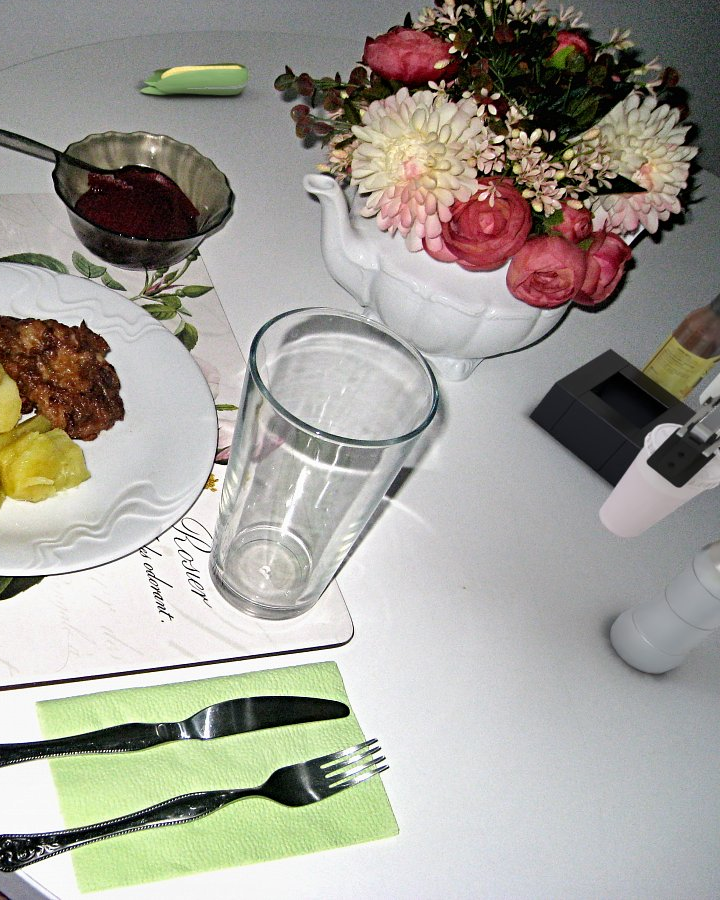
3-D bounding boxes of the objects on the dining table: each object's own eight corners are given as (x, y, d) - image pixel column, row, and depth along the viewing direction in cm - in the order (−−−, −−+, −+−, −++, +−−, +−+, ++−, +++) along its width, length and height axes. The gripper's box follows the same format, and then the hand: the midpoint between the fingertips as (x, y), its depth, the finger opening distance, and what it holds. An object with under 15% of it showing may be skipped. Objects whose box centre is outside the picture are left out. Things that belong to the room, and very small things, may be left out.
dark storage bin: (664, 454, 111) (702, 416, 106) (613, 495, 105) (650, 456, 99) (578, 387, 117) (610, 348, 112) (524, 421, 110) (555, 382, 105)
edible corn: (251, 99, 152) (259, 73, 149) (145, 102, 144) (151, 75, 141) (237, 83, 155) (245, 57, 151) (133, 85, 147) (138, 58, 144)
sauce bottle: (670, 427, 115) (784, 309, 100) (623, 410, 115) (730, 290, 101) (666, 395, 119) (774, 277, 105) (620, 378, 120) (722, 259, 105)
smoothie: (656, 562, 77) (773, 458, 67) (584, 533, 78) (689, 427, 68) (652, 509, 82) (761, 404, 71) (584, 482, 82) (682, 375, 72)
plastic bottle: (598, 614, 92) (733, 496, 77) (662, 636, 92) (810, 523, 77) (603, 667, 88) (747, 553, 73) (670, 691, 88) (828, 582, 73)
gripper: (865, 363, 54) (674, 534, 67) (954, 284, 63) (769, 449, 76) (752, 289, 57) (591, 466, 70) (851, 224, 66) (691, 392, 79)
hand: (685, 456), depth 73 cm, fingers closed on smoothie, 6 cm apart
